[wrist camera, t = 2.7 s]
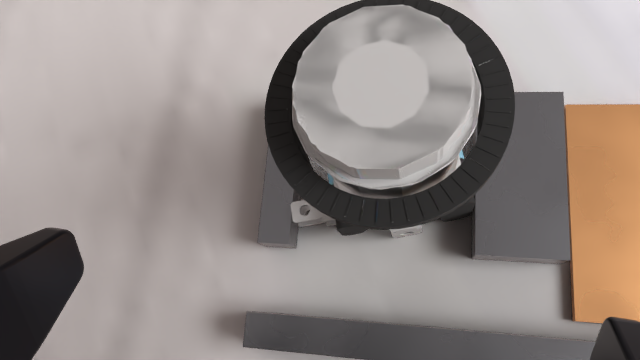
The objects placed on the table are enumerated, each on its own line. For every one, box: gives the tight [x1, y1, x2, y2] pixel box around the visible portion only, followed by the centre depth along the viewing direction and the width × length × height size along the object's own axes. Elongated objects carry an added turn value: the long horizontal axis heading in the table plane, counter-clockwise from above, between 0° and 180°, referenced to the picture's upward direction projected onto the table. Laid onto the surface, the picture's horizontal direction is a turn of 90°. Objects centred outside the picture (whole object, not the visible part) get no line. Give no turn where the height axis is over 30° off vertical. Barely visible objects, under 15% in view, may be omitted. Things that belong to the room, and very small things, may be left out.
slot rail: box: [243, 92, 640, 360], centre depth 17 cm, size 19×10×2 cm, turn 85°
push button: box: [265, 0, 515, 238], centre depth 15 cm, size 7×5×10 cm
